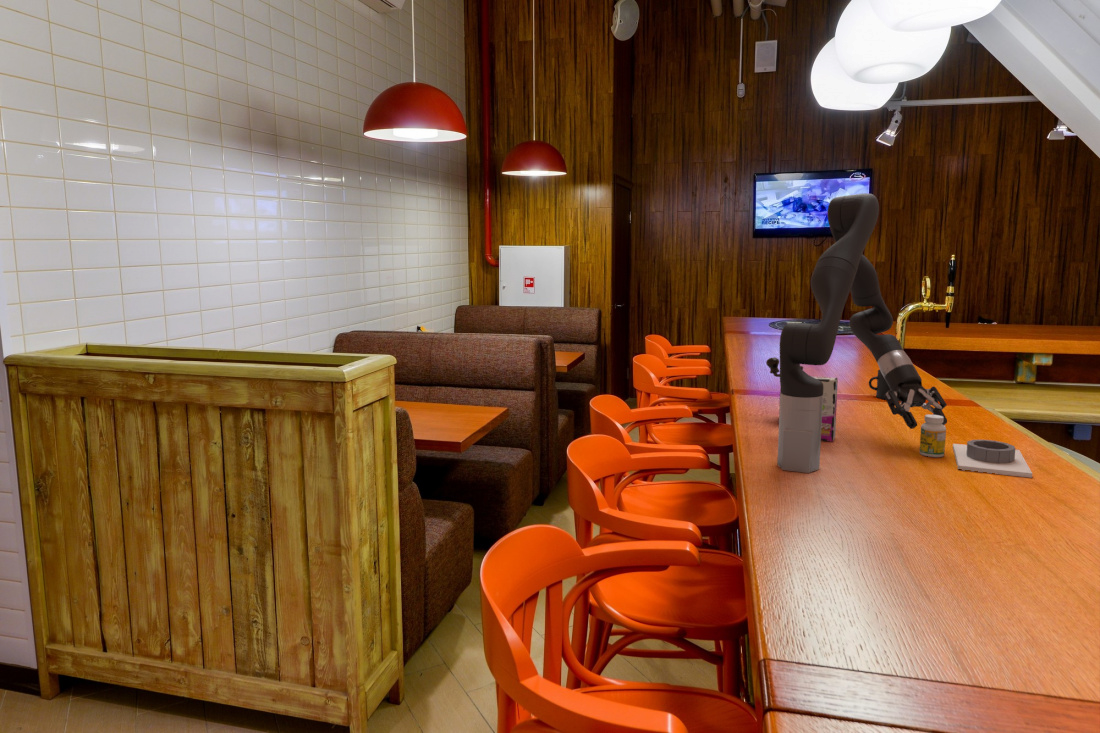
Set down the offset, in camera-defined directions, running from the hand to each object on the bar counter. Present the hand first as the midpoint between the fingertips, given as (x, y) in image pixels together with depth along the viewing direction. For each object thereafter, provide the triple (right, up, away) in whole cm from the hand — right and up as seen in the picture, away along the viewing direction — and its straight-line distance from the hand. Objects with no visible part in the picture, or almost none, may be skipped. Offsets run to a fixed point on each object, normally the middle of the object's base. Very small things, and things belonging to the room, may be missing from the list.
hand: (929, 425), depth 174 cm
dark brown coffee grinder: (-22, -2, +35) cm, 41 cm away
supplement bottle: (0, -7, 0) cm, 7 cm away
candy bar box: (-23, -5, +16) cm, 28 cm away
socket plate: (+11, -8, -6) cm, 15 cm away
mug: (+20, +4, +65) cm, 68 cm away
